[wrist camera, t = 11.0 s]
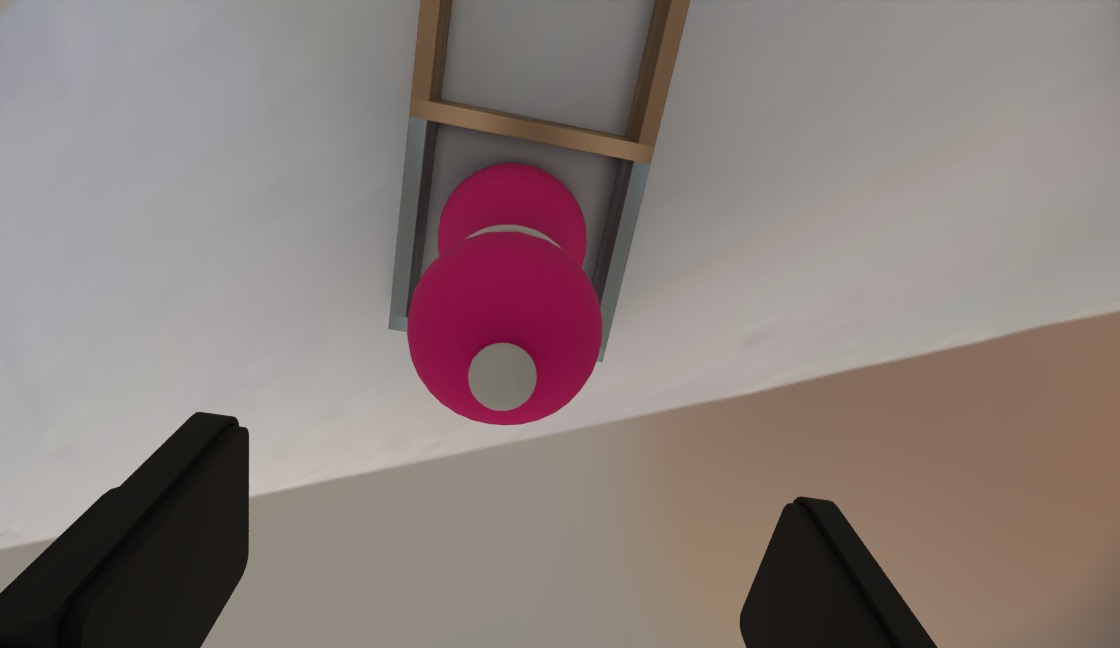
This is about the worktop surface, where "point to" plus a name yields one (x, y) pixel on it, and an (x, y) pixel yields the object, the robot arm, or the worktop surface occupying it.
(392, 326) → the organizer
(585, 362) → the pepper mill
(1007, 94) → the worktop surface
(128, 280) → the worktop surface
